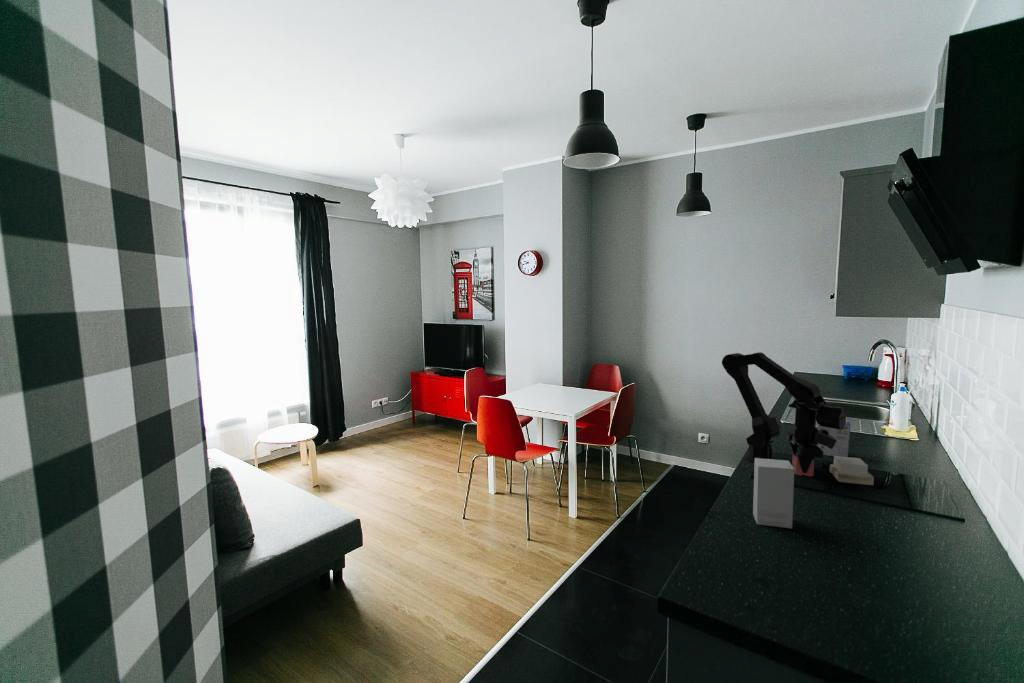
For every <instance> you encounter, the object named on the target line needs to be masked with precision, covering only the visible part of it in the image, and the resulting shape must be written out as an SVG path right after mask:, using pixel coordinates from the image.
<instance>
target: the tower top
mask: <svg viewBox="0 0 1024 683" xmlns="http://www.w3.org/2000/svg"><path fill="white" fill-rule="evenodd" d="M833 464H834V466H835V467H836V468H837V469H838V470H839V471H840V473H850V474H859V475H867V472H869V471H868V468H869V466H868V464H867V463H866V462H864V461H863V460H862V459H861V458H860V457H849V456H848V457H840V456H833Z"/></svg>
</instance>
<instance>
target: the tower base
mask: <svg viewBox="0 0 1024 683" xmlns="http://www.w3.org/2000/svg"><path fill="white" fill-rule="evenodd" d="M829 473H830V474H831V473H832V474H833V475H832V474H831V475H832V476H833V477H834V478H835V479H836V480H837V481H838V482H839V483H847V484H857V485H858V484H859V485H864V486H865V485H866V486H874V482H875V477H874V476H873V474H871V473H870V472H869V471H868V472H867V475H859V474H850V473H840V471H839V470H838V469H837V468H836V467H835V466H834V463H829Z"/></svg>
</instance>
